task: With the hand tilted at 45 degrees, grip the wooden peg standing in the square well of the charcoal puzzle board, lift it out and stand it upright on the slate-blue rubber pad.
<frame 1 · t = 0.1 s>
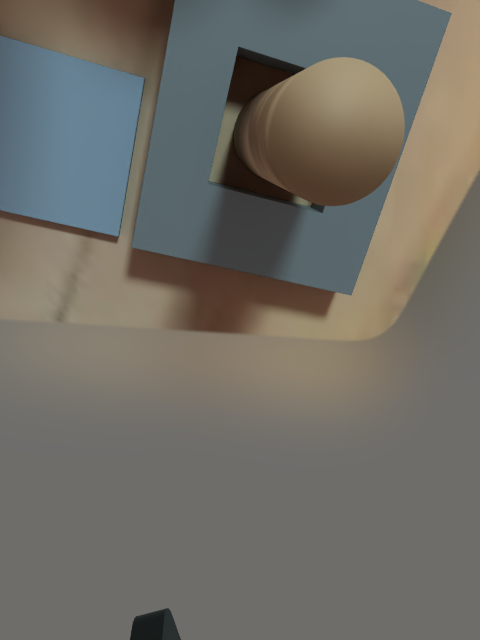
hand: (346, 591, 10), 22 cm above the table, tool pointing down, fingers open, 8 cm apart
peg: (298, 136, 22), in the board
pad: (52, 141, 26), on the table
board: (274, 136, 28), on the table
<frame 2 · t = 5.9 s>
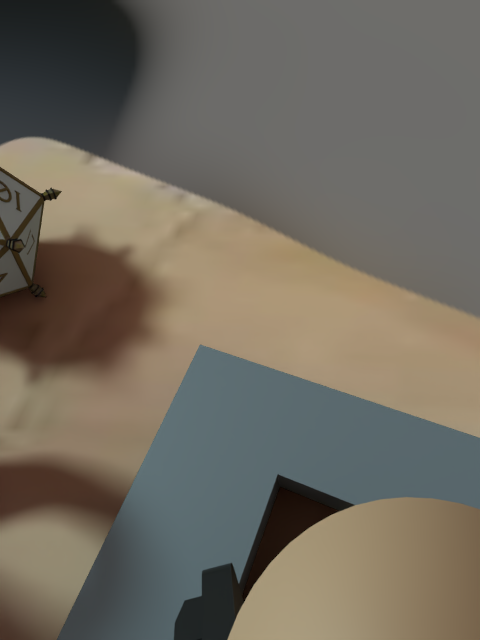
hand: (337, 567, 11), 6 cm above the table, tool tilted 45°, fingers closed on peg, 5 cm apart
board: (343, 631, 15), on the table
game die: (4, 279, 24), on the table
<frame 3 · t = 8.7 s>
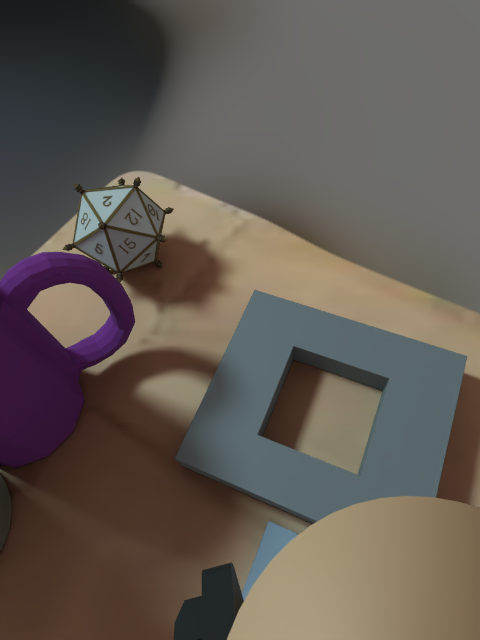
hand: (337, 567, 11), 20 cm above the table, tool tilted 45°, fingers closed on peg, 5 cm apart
pad: (311, 629, 27), on the table
mug: (66, 386, 37), on the table
board: (322, 416, 33), on the table
game die: (135, 257, 42), on the table
when the fingers open (8 cm above the table, at t = 11.7 s): peg drops 1 cm, resting on pad.
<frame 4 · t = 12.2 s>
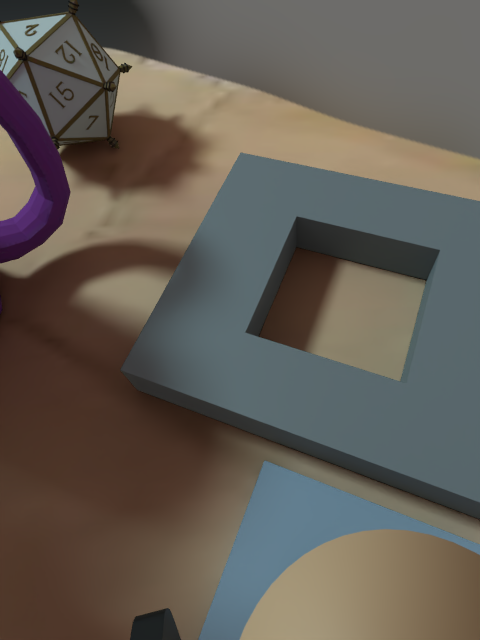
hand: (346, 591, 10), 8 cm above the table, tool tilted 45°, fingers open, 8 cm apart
pad: (336, 625, 17), on the table
board: (340, 317, 23), on the table
game die: (84, 140, 32), on the table
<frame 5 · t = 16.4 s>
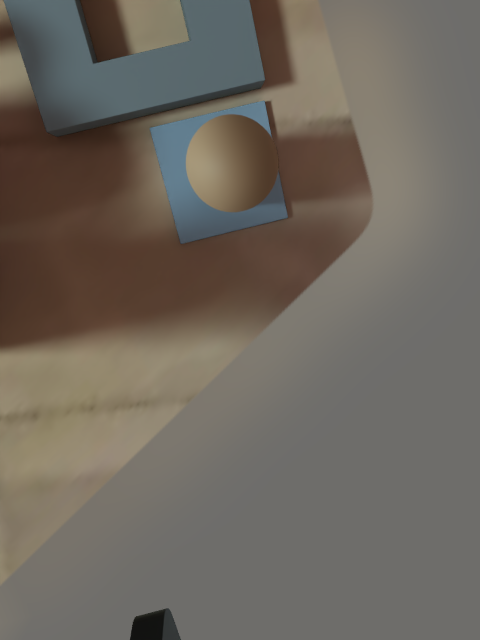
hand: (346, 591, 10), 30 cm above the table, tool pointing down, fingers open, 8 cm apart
peg: (226, 171, 30), on the pad
pad: (221, 174, 37), on the table
board: (132, 10, 33), on the table
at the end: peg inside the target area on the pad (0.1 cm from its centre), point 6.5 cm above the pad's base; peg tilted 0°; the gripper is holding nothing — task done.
